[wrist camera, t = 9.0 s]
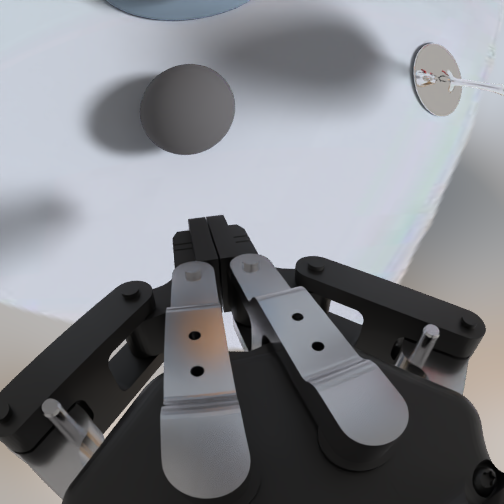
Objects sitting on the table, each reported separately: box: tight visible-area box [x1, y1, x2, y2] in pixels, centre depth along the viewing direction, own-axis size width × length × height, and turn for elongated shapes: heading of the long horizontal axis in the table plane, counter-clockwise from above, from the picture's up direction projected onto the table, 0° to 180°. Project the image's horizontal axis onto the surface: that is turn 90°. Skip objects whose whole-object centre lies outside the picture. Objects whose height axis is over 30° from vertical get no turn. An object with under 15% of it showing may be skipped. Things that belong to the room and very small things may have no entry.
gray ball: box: [140, 64, 235, 155], centre depth 16 cm, size 6×6×6 cm
